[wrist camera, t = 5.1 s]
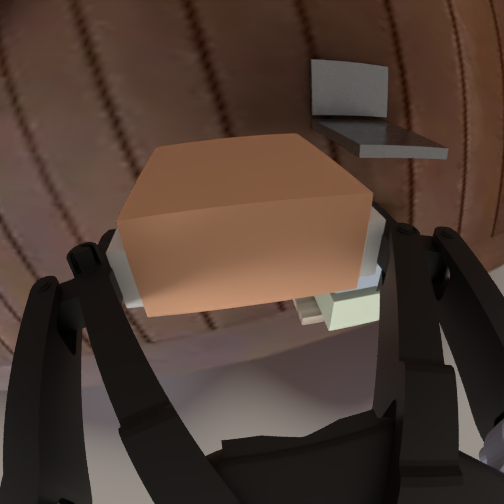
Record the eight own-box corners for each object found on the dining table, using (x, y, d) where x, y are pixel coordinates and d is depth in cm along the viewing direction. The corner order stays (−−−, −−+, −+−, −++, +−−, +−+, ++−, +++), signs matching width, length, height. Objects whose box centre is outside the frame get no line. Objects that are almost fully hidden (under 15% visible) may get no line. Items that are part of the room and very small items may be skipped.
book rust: (155, 147, 18) (116, 221, 9) (296, 133, 18) (373, 193, 10) (166, 210, 20) (147, 317, 12) (296, 195, 21) (356, 288, 13)
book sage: (307, 249, 38) (334, 302, 30) (369, 241, 39) (405, 287, 31) (305, 276, 41) (329, 330, 33) (364, 267, 42) (396, 315, 33)
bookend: (309, 59, 25) (362, 56, 16) (385, 66, 26) (454, 75, 17) (310, 127, 30) (359, 157, 20) (383, 128, 30) (446, 159, 21)
